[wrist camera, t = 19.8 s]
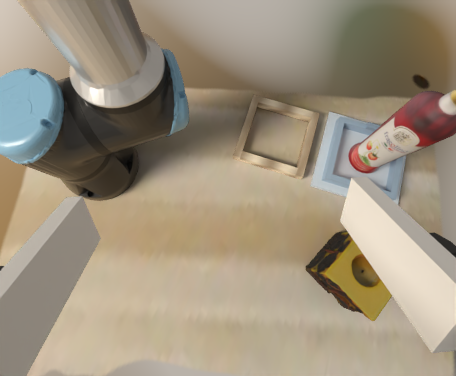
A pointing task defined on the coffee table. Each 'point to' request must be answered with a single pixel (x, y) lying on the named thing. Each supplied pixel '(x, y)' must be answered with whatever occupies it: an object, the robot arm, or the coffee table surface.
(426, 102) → the liquor
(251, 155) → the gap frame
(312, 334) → the coffee table surface
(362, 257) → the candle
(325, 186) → the tray
